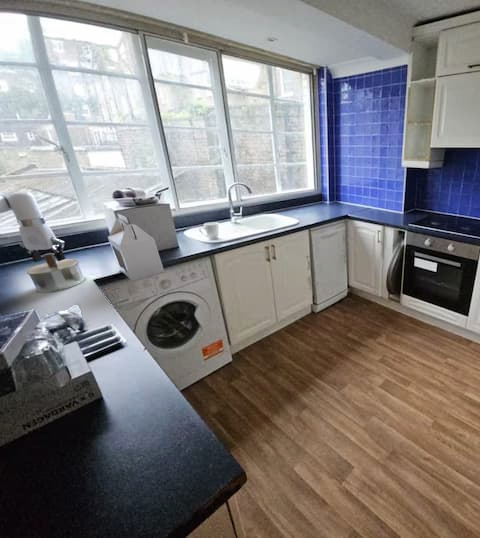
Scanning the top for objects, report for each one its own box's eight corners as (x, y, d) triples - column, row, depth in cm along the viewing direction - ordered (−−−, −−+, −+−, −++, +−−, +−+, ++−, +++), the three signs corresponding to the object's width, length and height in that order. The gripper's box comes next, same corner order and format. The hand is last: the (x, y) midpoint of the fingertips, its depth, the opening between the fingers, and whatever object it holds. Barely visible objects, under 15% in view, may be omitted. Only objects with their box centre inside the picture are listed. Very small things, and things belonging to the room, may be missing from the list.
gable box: (120, 270, 147) (99, 215, 136) (150, 262, 157) (132, 210, 146) (132, 281, 134) (110, 221, 123) (164, 272, 143) (146, 215, 132)
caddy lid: (15, 277, 123) (7, 262, 120) (51, 262, 138) (45, 248, 135) (57, 274, 124) (50, 260, 121) (88, 260, 139) (82, 247, 136)
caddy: (27, 293, 126) (17, 275, 123) (58, 278, 141) (51, 261, 137) (64, 291, 127) (56, 273, 124) (92, 276, 141) (85, 259, 138)
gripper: (1, 225, 119) (21, 264, 125) (45, 223, 119) (63, 262, 126) (19, 221, 126) (37, 258, 132) (61, 219, 126) (77, 256, 133)
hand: (50, 260), depth 129 cm, fingers open, 9 cm apart
